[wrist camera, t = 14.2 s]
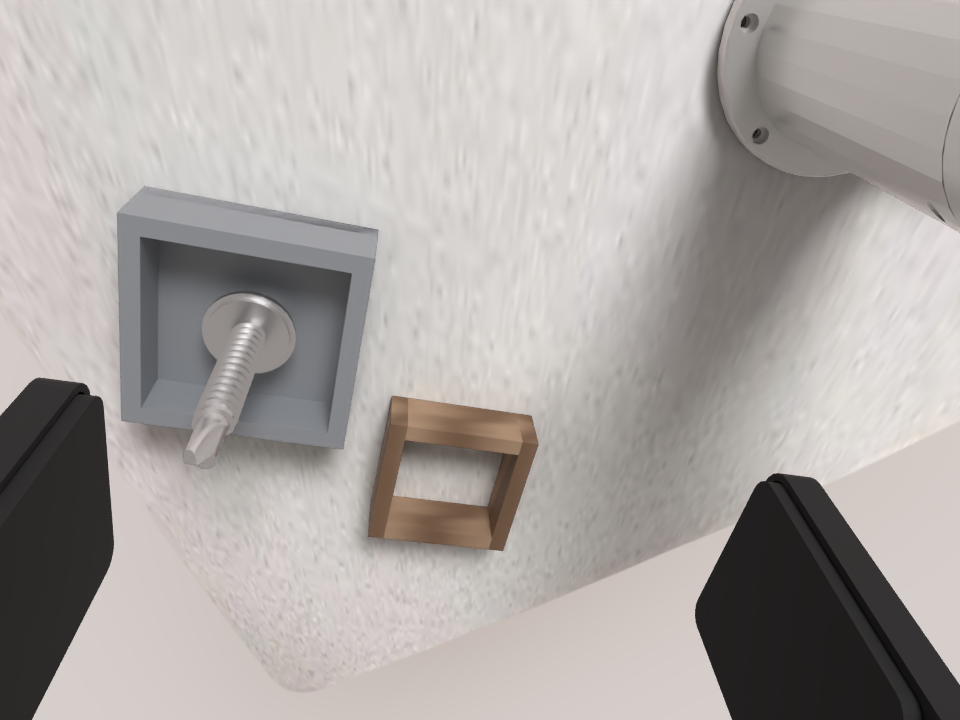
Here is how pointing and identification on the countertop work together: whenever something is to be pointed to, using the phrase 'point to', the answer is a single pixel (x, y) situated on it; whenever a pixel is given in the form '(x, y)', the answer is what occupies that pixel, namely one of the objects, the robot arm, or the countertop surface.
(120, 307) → the bin
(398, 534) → the frame
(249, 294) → the screw
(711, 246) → the countertop surface
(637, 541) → the countertop surface
